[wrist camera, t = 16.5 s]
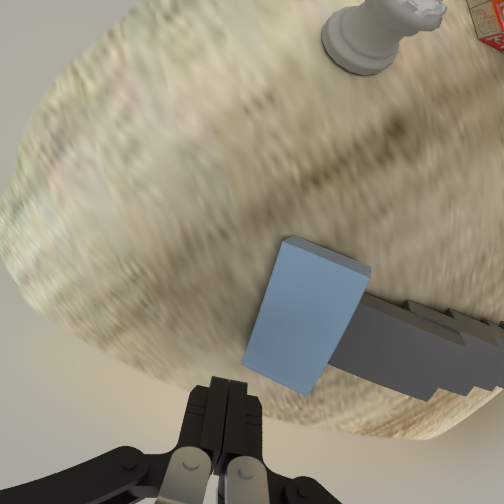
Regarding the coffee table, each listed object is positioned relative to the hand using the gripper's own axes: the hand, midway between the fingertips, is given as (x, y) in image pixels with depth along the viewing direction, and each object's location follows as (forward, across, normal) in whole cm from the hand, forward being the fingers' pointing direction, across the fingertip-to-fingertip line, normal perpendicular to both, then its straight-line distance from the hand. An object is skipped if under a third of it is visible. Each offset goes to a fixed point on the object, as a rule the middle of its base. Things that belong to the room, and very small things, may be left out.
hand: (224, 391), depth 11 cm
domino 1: (+7, -7, 0) cm, 10 cm away
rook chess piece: (+8, -3, -18) cm, 20 cm away
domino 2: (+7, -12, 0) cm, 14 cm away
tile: (+6, -4, -5) cm, 9 cm away
